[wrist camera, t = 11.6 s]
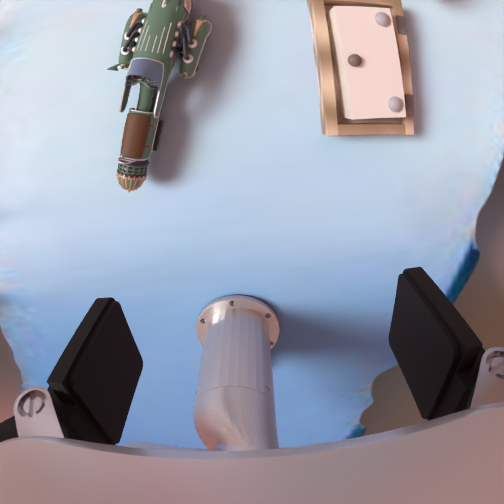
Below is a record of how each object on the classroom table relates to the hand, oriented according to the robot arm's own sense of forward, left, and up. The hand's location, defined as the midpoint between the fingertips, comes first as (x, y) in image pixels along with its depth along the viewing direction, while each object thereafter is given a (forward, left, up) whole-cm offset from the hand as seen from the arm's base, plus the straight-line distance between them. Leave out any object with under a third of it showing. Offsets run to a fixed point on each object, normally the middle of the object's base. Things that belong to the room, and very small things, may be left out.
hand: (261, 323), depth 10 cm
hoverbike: (+10, +10, -31) cm, 34 cm away
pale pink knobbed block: (+11, -14, -30) cm, 34 cm away
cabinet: (+11, -14, -30) cm, 35 cm away
